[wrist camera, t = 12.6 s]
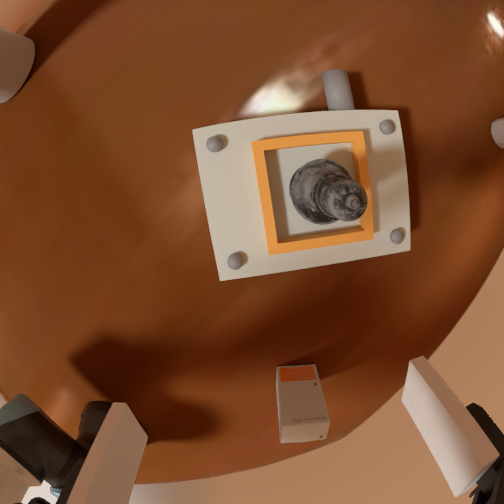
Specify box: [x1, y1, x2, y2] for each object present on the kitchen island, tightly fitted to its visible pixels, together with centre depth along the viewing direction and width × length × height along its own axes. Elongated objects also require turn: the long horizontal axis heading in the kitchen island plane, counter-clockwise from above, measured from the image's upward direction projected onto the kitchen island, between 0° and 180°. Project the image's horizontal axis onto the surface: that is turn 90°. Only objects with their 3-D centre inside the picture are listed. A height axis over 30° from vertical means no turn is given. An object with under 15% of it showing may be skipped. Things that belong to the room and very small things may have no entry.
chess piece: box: [289, 159, 368, 225], centre depth 21 cm, size 6×6×12 cm
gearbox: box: [192, 69, 410, 281], centre depth 28 cm, size 22×21×6 cm
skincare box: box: [276, 364, 330, 443], centre depth 34 cm, size 6×4×12 cm
